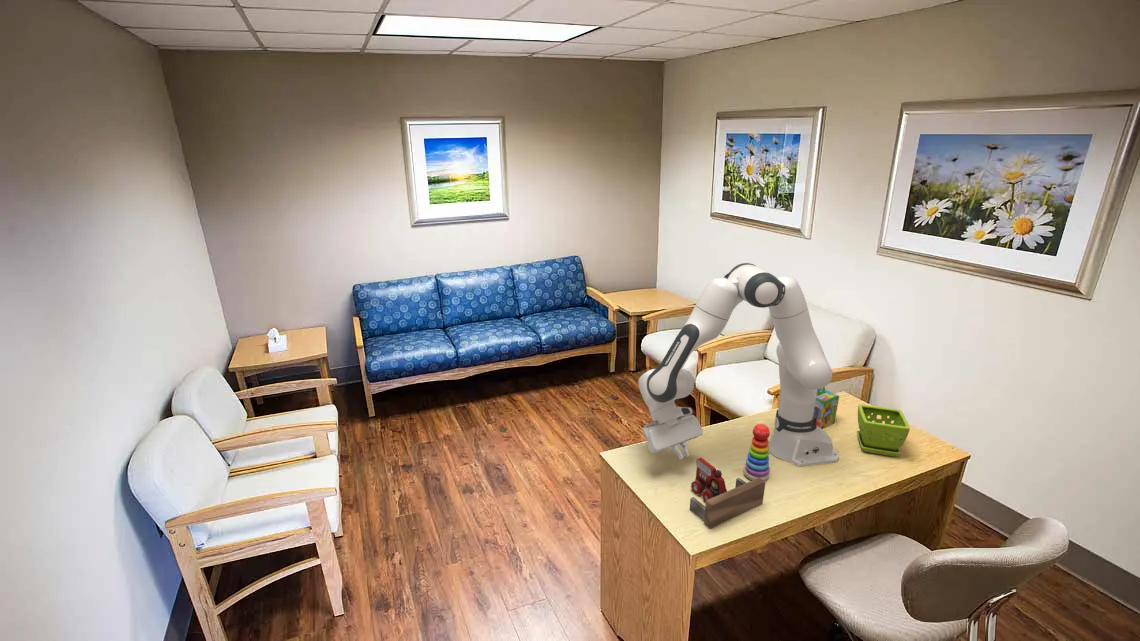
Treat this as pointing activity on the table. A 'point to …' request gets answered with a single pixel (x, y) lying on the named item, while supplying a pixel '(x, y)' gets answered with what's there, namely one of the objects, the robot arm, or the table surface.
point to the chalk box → (826, 406)
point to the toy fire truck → (708, 480)
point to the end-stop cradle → (730, 502)
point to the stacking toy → (758, 454)
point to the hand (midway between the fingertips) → (684, 457)
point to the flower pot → (881, 430)
